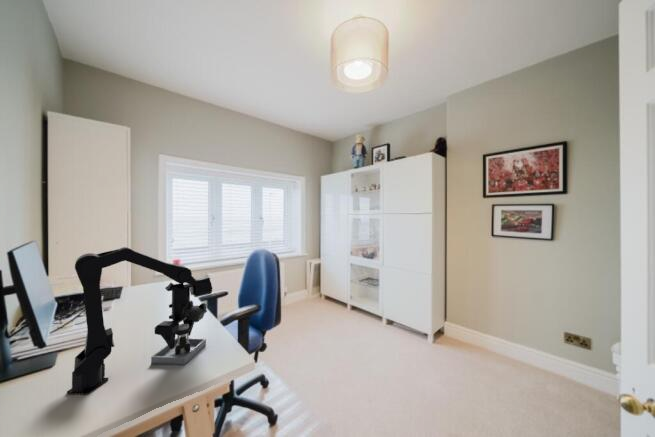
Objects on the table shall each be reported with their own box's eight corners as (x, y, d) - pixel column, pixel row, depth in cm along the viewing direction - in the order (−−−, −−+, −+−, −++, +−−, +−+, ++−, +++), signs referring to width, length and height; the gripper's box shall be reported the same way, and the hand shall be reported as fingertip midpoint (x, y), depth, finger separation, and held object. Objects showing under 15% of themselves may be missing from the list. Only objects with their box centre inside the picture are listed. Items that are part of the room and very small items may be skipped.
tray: (184, 365, 81) (184, 357, 81) (151, 364, 81) (151, 356, 81) (205, 345, 94) (205, 338, 94) (176, 344, 94) (176, 337, 94)
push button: (168, 358, 84) (169, 330, 84) (171, 351, 89) (171, 324, 89) (190, 354, 87) (190, 327, 87) (191, 346, 91) (192, 321, 91)
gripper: (185, 310, 78) (185, 357, 78) (215, 292, 97) (214, 330, 97) (153, 309, 78) (153, 356, 78) (188, 292, 97) (188, 329, 97)
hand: (180, 341), depth 88 cm, fingers open, 9 cm apart
